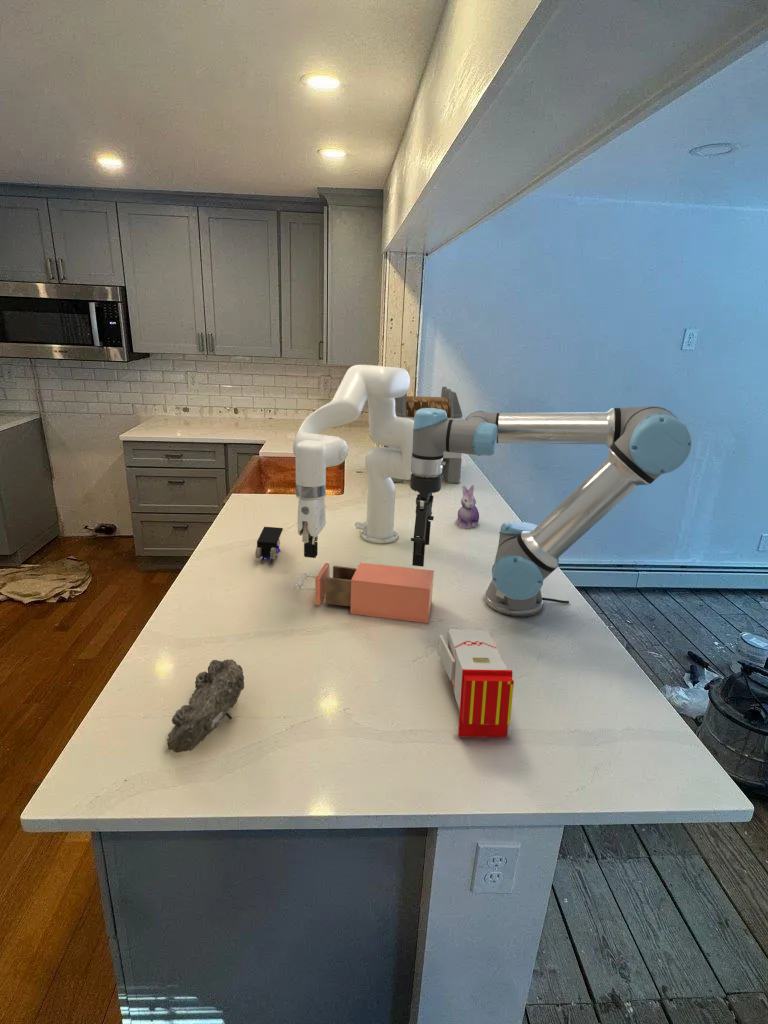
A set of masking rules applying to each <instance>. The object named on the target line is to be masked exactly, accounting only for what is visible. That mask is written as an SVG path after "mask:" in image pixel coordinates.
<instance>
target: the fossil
mask: <svg viewBox="0 0 768 1024" xmlns="http://www.w3.org/2000/svg"><path fill="white" fill-rule="evenodd" d="M243 670H244V669H243V667H242V665H240V664H237V662H236V661H235V660H234V659H232V658H231V659H227V658H226V659H224V660H223V661H222V660H217V659H212V660H211V661H210V663H209V665H208V666H207V671H201V672H199V673H198V674H197V675H196V676H195V680H194V684H195V685H194V687H195V689H194V690H193V693H192V694H191V697H190V698H189V700H188V704H184V705H182V706H181V707H180V709H177V710H176V711H175V713H174V715H173V716H172V718H171V723H172V724H173V727H172V730H171V731H170V732H168V734H167V738H166V741H167V742H166V745H167V749H168V750H169V751H173V752H174V753H176V754H178V753H182V752H188V751H189V752H192V751H193V750H195V748H196V747H197V746H199V744H200V743H201V742H203V741H204V740H205V739H206V738H207V737H208V736H209V735H210V734H211V733H212V732H214V730H215V729H217V727H218V726H219V724H220V722H221V721H222V720H223V719H224V718H225V716H226V717H227V719H229V720H233V717H232V715H230V714H229V710H230V709H231V708H234V706H235V704H236V703H237V702H238V699H239V697H240V695H241V693H242V691H243V690H245V689H244V688H245V675H244V671H243Z"/></svg>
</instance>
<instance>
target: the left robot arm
mask: <svg viewBox="0 0 768 1024" xmlns="http://www.w3.org/2000/svg"><path fill="white" fill-rule="evenodd" d="M410 385H411V377H410V374H409V372H408V371H407V370H406V368H404V367H395V366H386V365H385V366H384V365H373V364H354V365H352V366H350V367H349V368H348V369H347V370H346V372H345V374H344V376H343V378H342V379H341V381H340V384H339V386H338V387H337V389H336V392H335V393H334V395H333V397H332V400H330V401H329V402H328V403H325V404H324V405H322V406H320V407H319V408H317V409H316V410H315V411H313V412H311V413H310V414H309V415H308V416H307V417H306V418H305V419H304V420H303V422H302V423H301V425H300V426H299V429H298V431H297V432H296V435H295V437H294V440H293V445H292V452H293V455H294V456H295V457H294V458H295V461H294V462H295V497H296V498H298V501H297V502H298V504H297V534H298V535H299V536H300V537H301V536H302V537H301V538H302V539H301V540H302V541H301V542H302V543H303V556H304V558H310V559H311V558H312V559H316V558H317V556H318V551H319V550H318V545H319V544H318V541H319V535H320V533H321V532H322V531H323V530H324V528H325V527H326V523H327V522H326V502H325V501H326V500H325V497H326V495H327V493H326V492H327V491H326V490H327V488H326V487H327V468H330V467H336V466H340V465H341V464H343V463H344V462H345V460H347V457H348V456H349V455H348V454H349V447H348V443H347V441H345V439H343V438H341V437H339V436H333V435H328V434H327V435H326V434H321V433H323V432H325V431H326V430H328V429H331V428H335V427H338V426H343V425H346V424H350V423H352V422H354V421H356V420H358V418H359V417H360V416H361V413H362V411H363V409H364V407H365V405H366V402H367V407H368V434H369V439H370V441H371V442H372V443H373V444H375V445H379V446H374V447H372V448H370V449H368V451H367V452H366V455H365V460H364V462H365V463H364V464H365V470H366V478H367V491H366V519H365V520H366V521H364V522H362V521H355V522H354V527H355V529H356V530H361V534H360V535H361V538H362V539H363V540H364V541H366V542H368V543H373V544H389V543H393V542H395V541H397V540H398V537H399V534H398V532H397V531H396V530H395V528H394V527H395V510H396V509H395V508H396V507H395V506H396V491H397V490H396V485H395V482H393V481H392V479H391V478H397V479H402V480H405V481H406V480H407V481H410V480H411V474H412V472H411V458H412V448H413V427H414V420H412V419H409V418H401V417H397V416H396V414H395V400H394V398H400V397H403V396H404V395H405V394H406V393H407V394H408V392H409V389H410ZM384 446H391V447H398V448H400V449H401V450H400V449H394V448H386V447H384Z"/></svg>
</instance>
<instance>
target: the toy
mask: <svg viewBox="0 0 768 1024" xmlns="http://www.w3.org/2000/svg"><path fill="white" fill-rule="evenodd" d="M446 640H447V643H446V641H445V639H444V636H443V635H442V634H439V637H438V646H437V656H438V657H439V659H440V661H441V663H442V666H443V668H444V670H445V672H446V674H447V677H448V679H449V681H450V684H451V687H452V690H453V693H454V697H455V701H456V705H457V708H458V711H459V714H458V715H459V716H458V730H457V731H458V732H457V737H458V738H508V731H509V726H510V725H511V717H512V707H513V697H514V696H513V695H514V684H515V680H514V679H513V673H514V671H513V670H512V669H508V667H507V665H506V662H505V661H504V659H503V658H502V655H501V653H500V651H499V649H498V647H497V643H496V639H495V637H494V635H493V634H491V632H490V631H489V629H467V628H466V629H465V628H463V629H461V628H460V629H459V628H448V630H447V639H446Z"/></svg>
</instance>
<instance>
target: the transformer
mask: <svg viewBox="0 0 768 1024" xmlns="http://www.w3.org/2000/svg"><path fill="white" fill-rule="evenodd" d="M440 393H441V394H440V396H415V395H414V396H413V395H412V396H411V395H407V394H408V392H407V393H406V394H405V395H404V396H403V397H400V398H394V400H395V414H396V416H397V417H401V418H409V419H412V420H414V419H415V413H416V411H417V410H419V409H422V408H436V409H442V410H444V411H446V413H447V419H450V420H459V421H465V418H463V411H462V408H461V405H460V402H459V398H458V395H457V392H455V391H453V390H452V389H451V388H447V386H442V387H441V392H440ZM383 447H386V448H394V449H400V448H398V447H391V446H384V445H383ZM400 450H401V449H400ZM443 454H444V455H443V460H442V461H444V462H445V465H444V466H443V465H442V473H441V474H440V475H443V476H442V477H443V478H444V479H445V481H446V482H447V483H449V484H455V483H456V484H459V483H461V472H462V461H463V460H462V453H454V452H446V451H444V453H443ZM391 479H392V481H393V483H402V482H403V479H397V478H391Z"/></svg>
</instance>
